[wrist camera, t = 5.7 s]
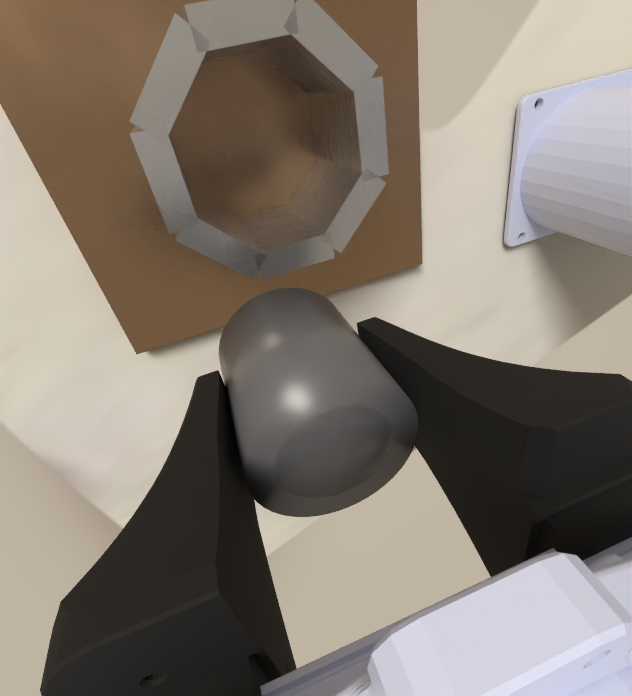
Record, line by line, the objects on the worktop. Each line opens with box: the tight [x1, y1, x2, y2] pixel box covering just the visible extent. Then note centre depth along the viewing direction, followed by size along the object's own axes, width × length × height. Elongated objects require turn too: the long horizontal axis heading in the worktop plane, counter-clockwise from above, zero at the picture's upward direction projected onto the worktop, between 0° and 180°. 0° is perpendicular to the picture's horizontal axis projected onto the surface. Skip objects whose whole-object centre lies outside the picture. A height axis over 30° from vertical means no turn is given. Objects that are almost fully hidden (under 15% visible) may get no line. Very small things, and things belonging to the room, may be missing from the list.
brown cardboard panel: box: [0, 0, 422, 354], centre depth 15 cm, size 16×16×6 cm
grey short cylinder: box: [219, 288, 418, 517], centre depth 12 cm, size 4×4×5 cm
